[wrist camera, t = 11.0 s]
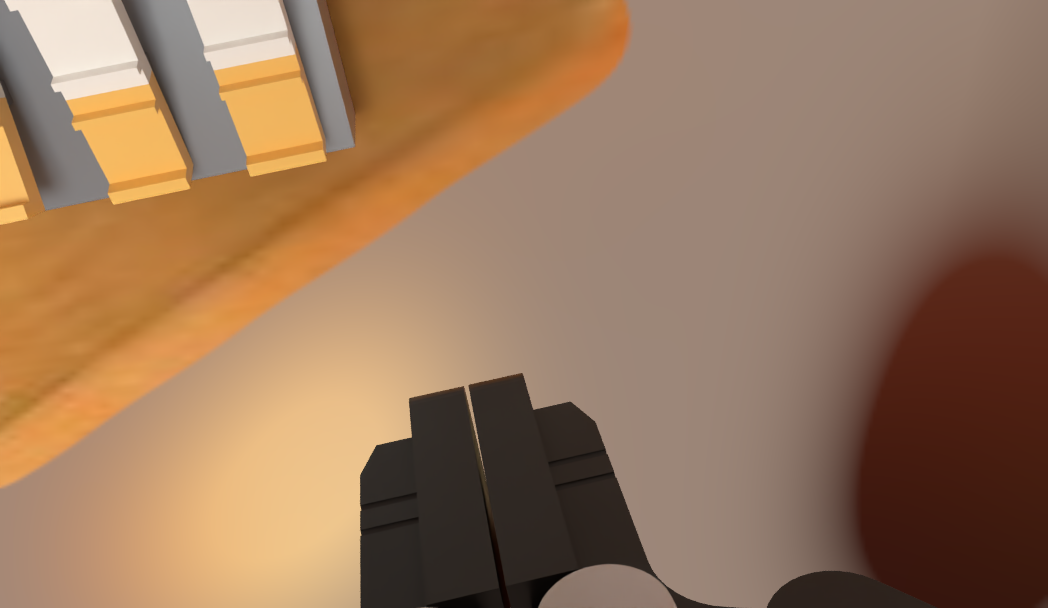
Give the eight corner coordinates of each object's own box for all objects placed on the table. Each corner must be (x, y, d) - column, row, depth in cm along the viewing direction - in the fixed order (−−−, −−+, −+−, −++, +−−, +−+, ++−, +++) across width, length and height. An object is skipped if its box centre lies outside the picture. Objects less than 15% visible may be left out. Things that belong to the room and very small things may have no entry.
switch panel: (-126, -78, 33) (-192, -61, 29) (285, -155, 34) (276, -148, 30) (0, 187, 38) (-42, 232, 34) (355, 114, 39) (355, 151, 35)
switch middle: (13, -26, 29) (1, -4, 28) (102, -44, 29) (94, -22, 28) (118, 179, 35) (113, 204, 34) (193, 164, 35) (190, 188, 34)
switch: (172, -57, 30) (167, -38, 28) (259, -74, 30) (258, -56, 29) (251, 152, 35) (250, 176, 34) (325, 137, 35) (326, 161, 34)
